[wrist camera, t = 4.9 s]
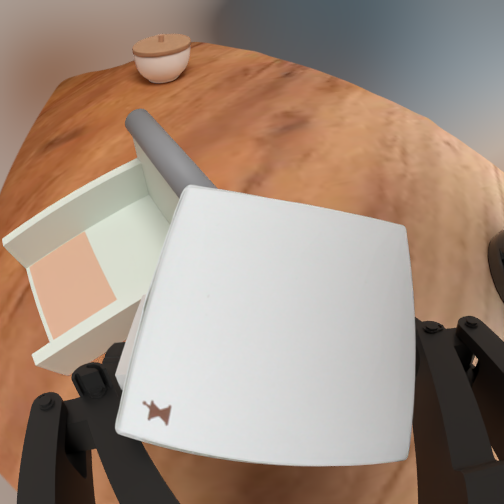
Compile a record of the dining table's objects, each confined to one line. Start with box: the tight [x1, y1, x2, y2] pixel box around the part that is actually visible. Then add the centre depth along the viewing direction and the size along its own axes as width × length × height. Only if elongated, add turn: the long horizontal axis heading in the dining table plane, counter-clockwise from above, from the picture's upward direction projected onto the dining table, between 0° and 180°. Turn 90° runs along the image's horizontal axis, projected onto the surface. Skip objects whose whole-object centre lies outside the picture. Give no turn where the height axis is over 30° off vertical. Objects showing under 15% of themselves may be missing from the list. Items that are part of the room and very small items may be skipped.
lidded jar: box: [132, 34, 191, 83], centre depth 44 cm, size 11×11×9 cm
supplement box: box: [115, 185, 416, 466], centre depth 12 cm, size 7×7×13 cm
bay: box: [2, 109, 217, 376], centre depth 22 cm, size 19×14×12 cm
